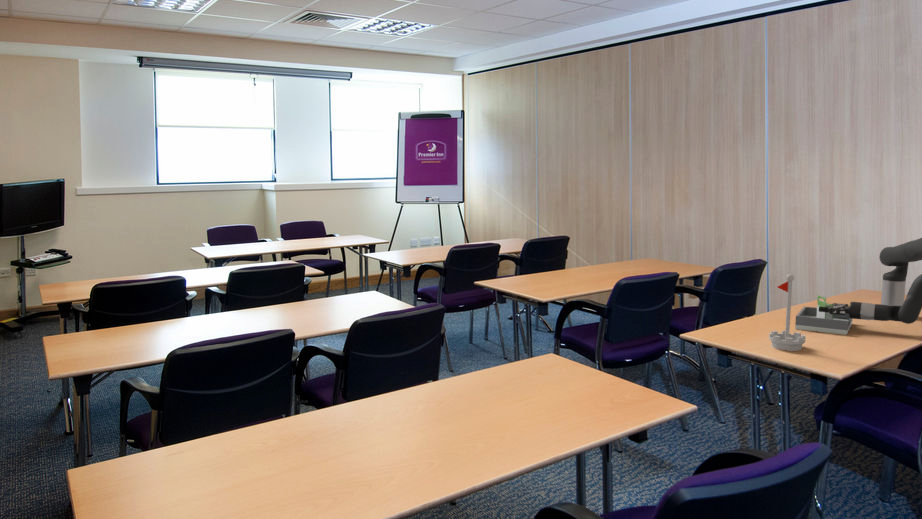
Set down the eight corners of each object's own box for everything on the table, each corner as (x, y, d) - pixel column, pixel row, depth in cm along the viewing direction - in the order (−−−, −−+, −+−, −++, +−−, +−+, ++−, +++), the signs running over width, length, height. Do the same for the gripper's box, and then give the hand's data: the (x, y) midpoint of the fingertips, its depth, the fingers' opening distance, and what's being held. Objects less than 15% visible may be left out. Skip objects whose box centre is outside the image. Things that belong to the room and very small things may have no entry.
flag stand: (793, 342, 265) (797, 271, 261) (811, 351, 252) (815, 276, 248) (762, 343, 264) (765, 271, 260) (779, 352, 252) (782, 277, 248)
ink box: (833, 326, 287) (834, 297, 285) (824, 327, 287) (825, 297, 285) (824, 323, 294) (825, 294, 292) (815, 323, 294) (817, 294, 292)
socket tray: (803, 318, 306) (804, 306, 305) (852, 323, 294) (852, 311, 293) (795, 329, 287) (795, 316, 286) (846, 334, 275) (847, 321, 274)
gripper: (864, 299, 286) (822, 296, 296) (861, 305, 275) (818, 302, 284) (863, 316, 287) (821, 312, 297) (860, 322, 276) (817, 318, 285)
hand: (820, 307), depth 290 cm, fingers closed on ink box, 8 cm apart
